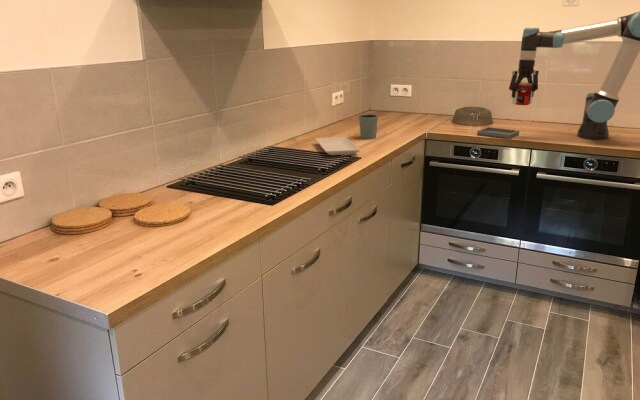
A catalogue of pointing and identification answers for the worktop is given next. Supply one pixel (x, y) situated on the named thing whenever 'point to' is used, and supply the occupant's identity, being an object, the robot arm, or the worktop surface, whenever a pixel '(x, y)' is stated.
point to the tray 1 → (337, 146)
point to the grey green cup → (368, 126)
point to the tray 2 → (498, 133)
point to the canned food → (524, 93)
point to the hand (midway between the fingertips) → (521, 103)
